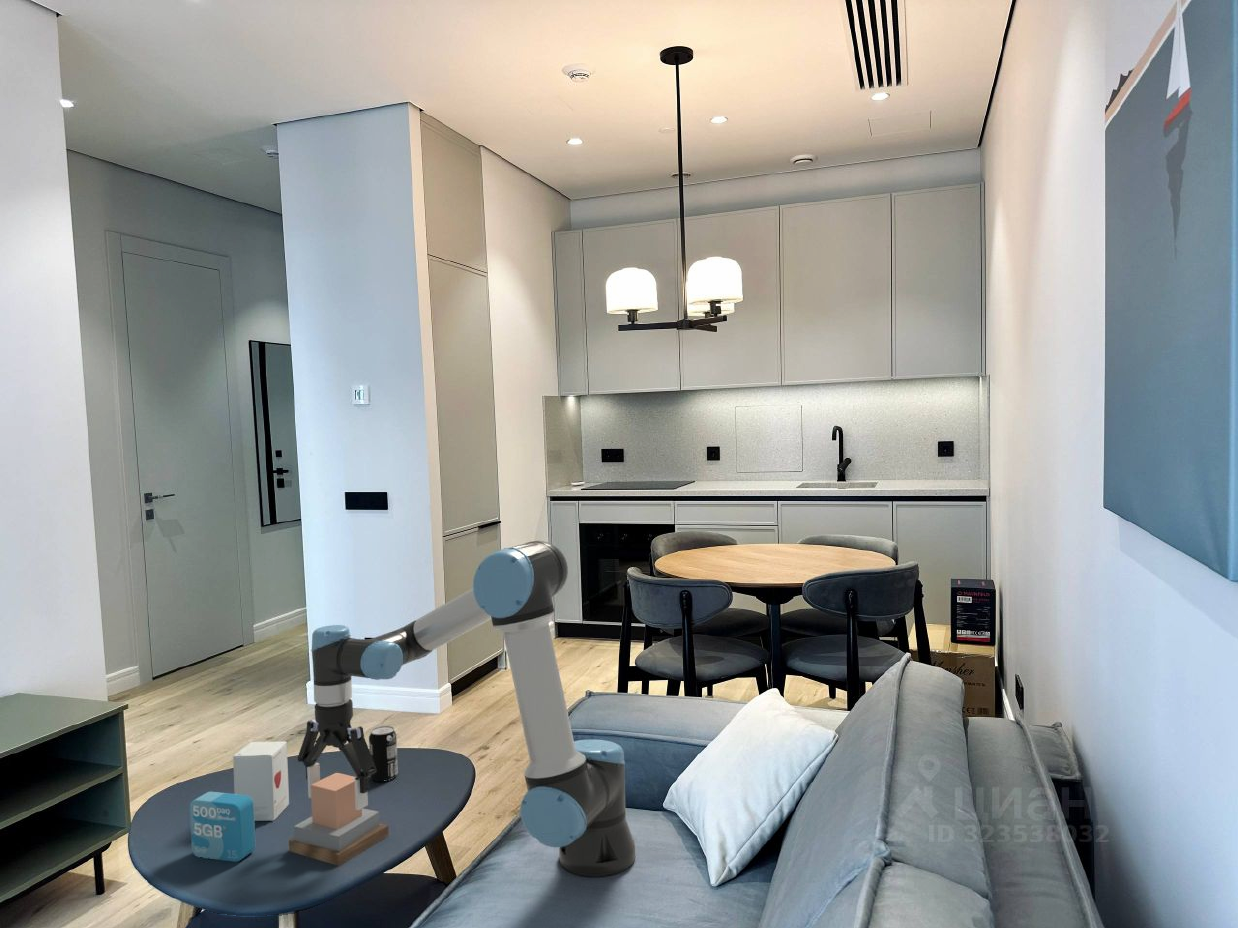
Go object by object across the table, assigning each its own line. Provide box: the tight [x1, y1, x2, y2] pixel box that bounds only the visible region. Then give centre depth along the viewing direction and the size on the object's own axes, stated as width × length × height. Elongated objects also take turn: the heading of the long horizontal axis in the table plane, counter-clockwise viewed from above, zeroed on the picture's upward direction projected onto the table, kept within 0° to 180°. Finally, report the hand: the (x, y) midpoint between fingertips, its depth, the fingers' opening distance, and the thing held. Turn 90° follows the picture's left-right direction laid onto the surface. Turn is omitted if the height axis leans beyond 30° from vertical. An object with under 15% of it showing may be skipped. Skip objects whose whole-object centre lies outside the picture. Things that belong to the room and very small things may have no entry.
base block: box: [288, 823, 390, 867], centre depth 183 cm, size 14×14×3 cm
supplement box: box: [232, 741, 290, 822], centre depth 199 cm, size 9×9×15 cm
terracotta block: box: [310, 772, 362, 829], centre depth 183 cm, size 7×7×8 cm
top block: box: [293, 808, 380, 851], centre depth 183 cm, size 12×12×3 cm
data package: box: [189, 791, 256, 863], centre depth 179 cm, size 12×4×12 cm, turn 75°
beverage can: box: [368, 725, 399, 782], centre depth 217 cm, size 7×7×12 cm
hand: (337, 801), depth 183 cm, fingers open, 13 cm apart
